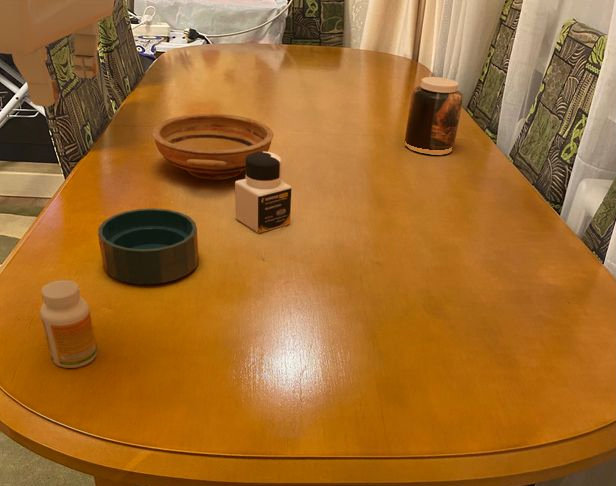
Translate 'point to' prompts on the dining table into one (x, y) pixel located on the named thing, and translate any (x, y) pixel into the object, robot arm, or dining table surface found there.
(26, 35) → the robot arm
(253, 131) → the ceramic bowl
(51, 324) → the supplement bottle
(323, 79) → the dining table surface
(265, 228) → the medicine bottle
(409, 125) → the jar
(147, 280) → the teal bowl
